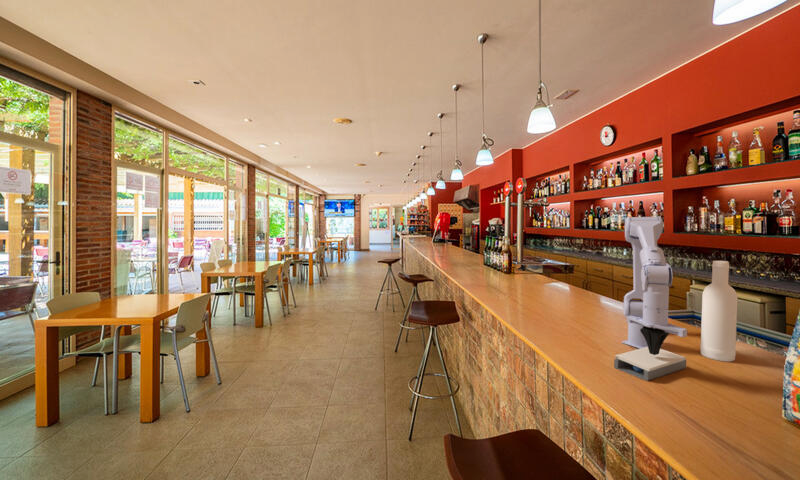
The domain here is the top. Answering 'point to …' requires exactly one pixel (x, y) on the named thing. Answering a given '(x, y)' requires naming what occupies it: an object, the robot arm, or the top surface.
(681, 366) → the cable duct
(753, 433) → the top surface
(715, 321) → the bottle
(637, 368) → the blue rounded capsule rod
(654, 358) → the panel
